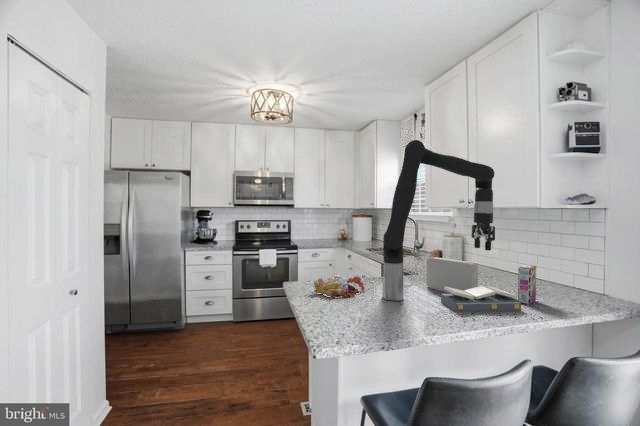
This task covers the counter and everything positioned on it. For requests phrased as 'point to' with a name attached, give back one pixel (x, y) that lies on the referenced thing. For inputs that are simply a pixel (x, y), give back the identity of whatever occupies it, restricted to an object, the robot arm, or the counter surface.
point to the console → (481, 303)
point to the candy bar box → (527, 284)
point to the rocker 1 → (458, 292)
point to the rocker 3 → (502, 292)
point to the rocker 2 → (480, 292)
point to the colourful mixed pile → (338, 286)
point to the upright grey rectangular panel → (451, 274)
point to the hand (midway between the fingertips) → (482, 249)
